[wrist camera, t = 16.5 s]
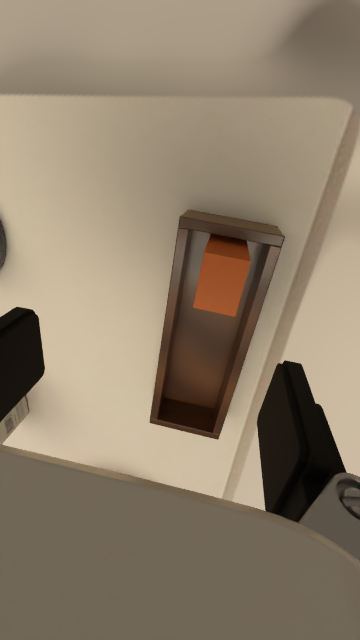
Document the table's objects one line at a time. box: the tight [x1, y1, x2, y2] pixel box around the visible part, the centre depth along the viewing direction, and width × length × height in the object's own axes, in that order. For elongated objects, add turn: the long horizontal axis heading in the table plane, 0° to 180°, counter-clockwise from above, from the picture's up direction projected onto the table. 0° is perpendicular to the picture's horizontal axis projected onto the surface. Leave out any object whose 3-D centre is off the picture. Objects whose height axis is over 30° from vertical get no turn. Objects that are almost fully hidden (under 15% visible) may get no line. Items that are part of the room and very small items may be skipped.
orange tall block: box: [193, 234, 251, 317], centre depth 22 cm, size 3×4×7 cm
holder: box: [150, 210, 285, 439], centre depth 27 cm, size 22×8×4 cm, turn 171°
